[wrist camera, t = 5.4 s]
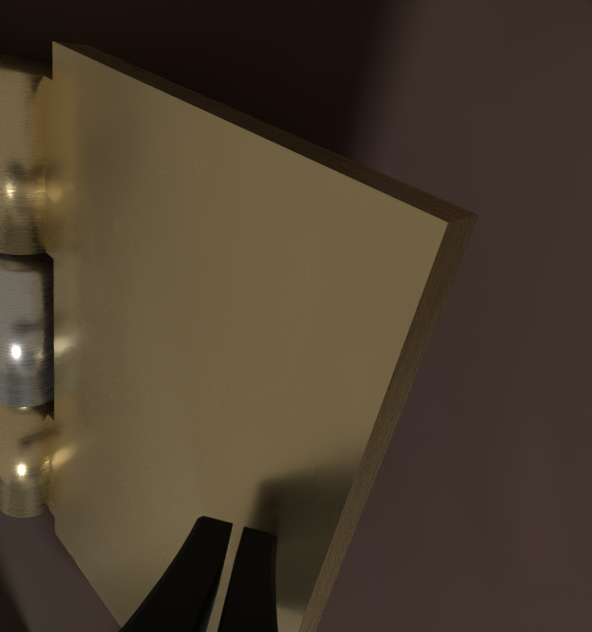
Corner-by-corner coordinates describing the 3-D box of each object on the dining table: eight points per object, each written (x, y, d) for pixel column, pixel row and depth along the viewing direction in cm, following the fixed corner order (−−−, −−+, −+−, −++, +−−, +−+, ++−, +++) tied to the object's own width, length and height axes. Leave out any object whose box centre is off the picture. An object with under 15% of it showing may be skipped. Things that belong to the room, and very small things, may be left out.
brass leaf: (46, 475, 22) (-15, 502, 20) (38, 22, 14) (-61, 9, 12) (263, 767, 15) (197, 839, 14) (481, 214, 7) (387, 237, 6)
